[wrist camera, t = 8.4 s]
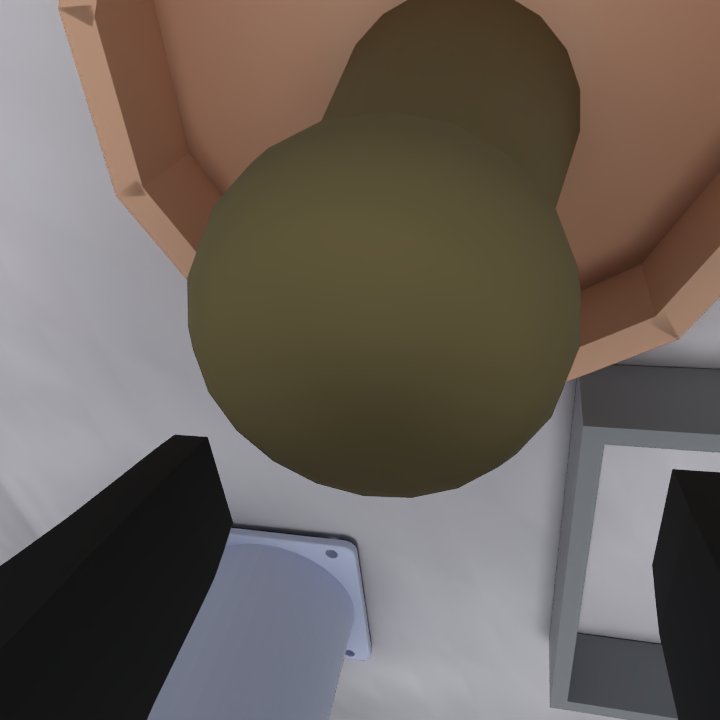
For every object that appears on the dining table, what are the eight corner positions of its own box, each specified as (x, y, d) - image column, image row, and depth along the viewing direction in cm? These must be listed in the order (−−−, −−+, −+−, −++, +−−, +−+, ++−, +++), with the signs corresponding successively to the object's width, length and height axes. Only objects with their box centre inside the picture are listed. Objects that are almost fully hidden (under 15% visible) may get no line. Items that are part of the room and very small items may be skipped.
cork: (375, -55, 15) (127, 23, 6) (631, 42, 15) (768, 269, 6) (309, 191, 18) (96, 467, 10) (515, 270, 18) (491, 620, 10)
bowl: (219, 321, 23) (173, 381, 20) (60, -323, 14) (-61, -376, 11) (725, 338, 19) (757, 415, 16) (938, -519, 10) (1086, -671, 7)
